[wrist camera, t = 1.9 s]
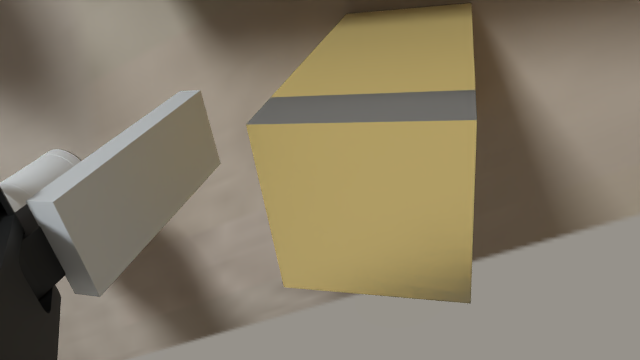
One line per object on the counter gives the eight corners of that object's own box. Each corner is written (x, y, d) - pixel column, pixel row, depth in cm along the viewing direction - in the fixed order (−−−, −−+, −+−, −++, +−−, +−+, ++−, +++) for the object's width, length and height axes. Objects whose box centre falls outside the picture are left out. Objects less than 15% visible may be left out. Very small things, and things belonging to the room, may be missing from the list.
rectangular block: (357, 122, 20) (284, 286, 12) (346, 13, 18) (246, 124, 10) (468, 120, 19) (470, 303, 11) (471, 3, 17) (476, 120, 8)
